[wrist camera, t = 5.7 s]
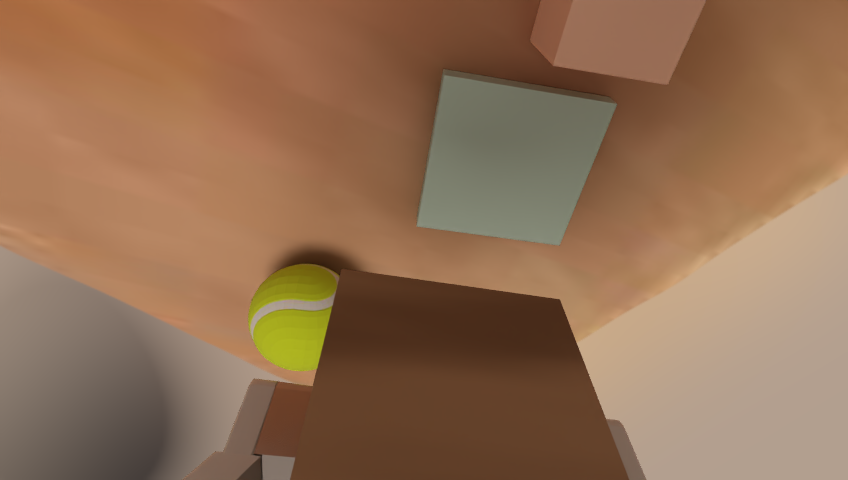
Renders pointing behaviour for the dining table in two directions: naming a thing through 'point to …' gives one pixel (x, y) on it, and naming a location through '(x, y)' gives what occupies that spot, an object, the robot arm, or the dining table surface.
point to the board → (509, 157)
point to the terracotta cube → (616, 35)
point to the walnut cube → (450, 388)
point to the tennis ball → (293, 315)
